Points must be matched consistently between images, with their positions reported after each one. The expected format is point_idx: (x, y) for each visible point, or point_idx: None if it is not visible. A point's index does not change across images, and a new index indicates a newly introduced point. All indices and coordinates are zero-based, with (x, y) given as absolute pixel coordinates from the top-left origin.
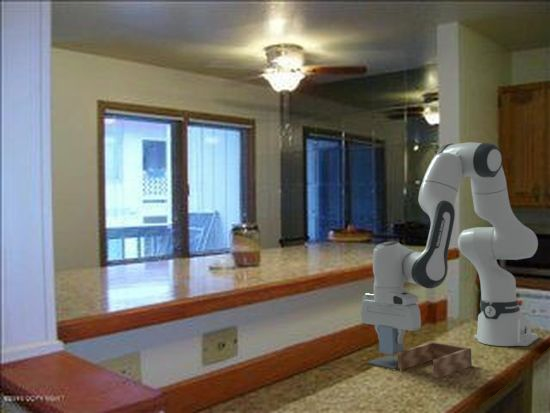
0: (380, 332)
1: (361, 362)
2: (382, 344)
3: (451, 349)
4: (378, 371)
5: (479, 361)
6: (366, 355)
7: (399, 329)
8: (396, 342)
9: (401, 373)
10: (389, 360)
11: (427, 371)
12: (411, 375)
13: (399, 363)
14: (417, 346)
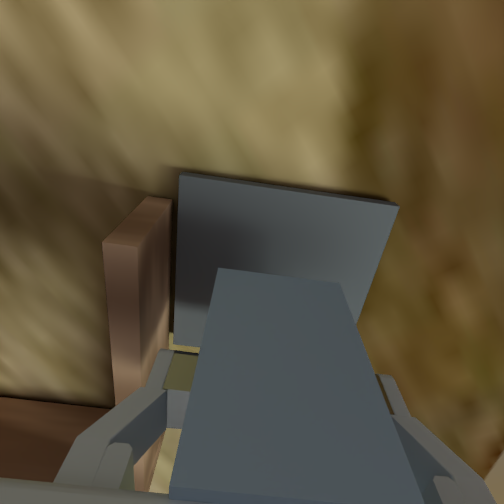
0: (367, 414)
1: (446, 222)
2: (320, 318)
3: (20, 463)
4: (258, 104)
5: None
6: (465, 342)
7: (87, 484)
8: (188, 354)
9: (118, 151)
10: None
11: (46, 262)
12: (47, 148)
13: (148, 211)
14: None
